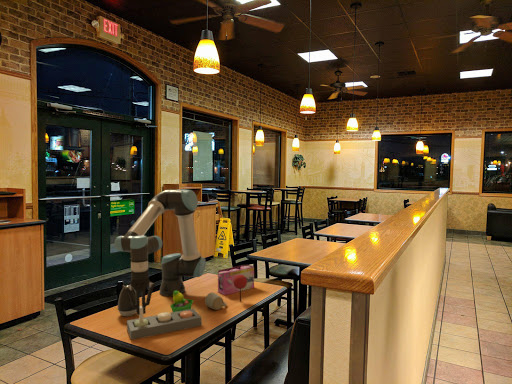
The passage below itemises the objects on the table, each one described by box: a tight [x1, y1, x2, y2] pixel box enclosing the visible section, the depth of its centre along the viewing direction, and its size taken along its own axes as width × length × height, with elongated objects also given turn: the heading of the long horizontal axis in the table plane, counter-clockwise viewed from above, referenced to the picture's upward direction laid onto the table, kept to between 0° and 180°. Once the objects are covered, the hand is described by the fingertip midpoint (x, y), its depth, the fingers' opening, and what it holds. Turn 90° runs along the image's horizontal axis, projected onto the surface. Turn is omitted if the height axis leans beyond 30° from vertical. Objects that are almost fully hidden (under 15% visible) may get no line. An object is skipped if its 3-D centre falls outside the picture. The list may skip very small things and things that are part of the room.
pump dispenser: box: [117, 284, 137, 317], centre depth 189 cm, size 10×10×15 cm
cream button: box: [157, 311, 172, 322], centre depth 172 cm, size 6×6×2 cm
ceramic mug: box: [204, 292, 227, 311], centre depth 197 cm, size 11×8×8 cm
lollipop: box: [233, 275, 247, 302], centre depth 206 cm, size 8×8×15 cm
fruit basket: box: [170, 291, 194, 313], centre depth 191 cm, size 11×9×11 cm
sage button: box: [134, 319, 148, 327], centre depth 168 cm, size 6×6×2 cm
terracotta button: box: [180, 311, 193, 319], centre depth 177 cm, size 6×6×2 cm
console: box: [126, 308, 202, 341], centre depth 172 cm, size 13×32×4 cm, turn 117°
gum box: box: [217, 264, 255, 296], centre depth 226 cm, size 24×8×14 cm, turn 129°
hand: (141, 321), depth 167 cm, fingers closed
